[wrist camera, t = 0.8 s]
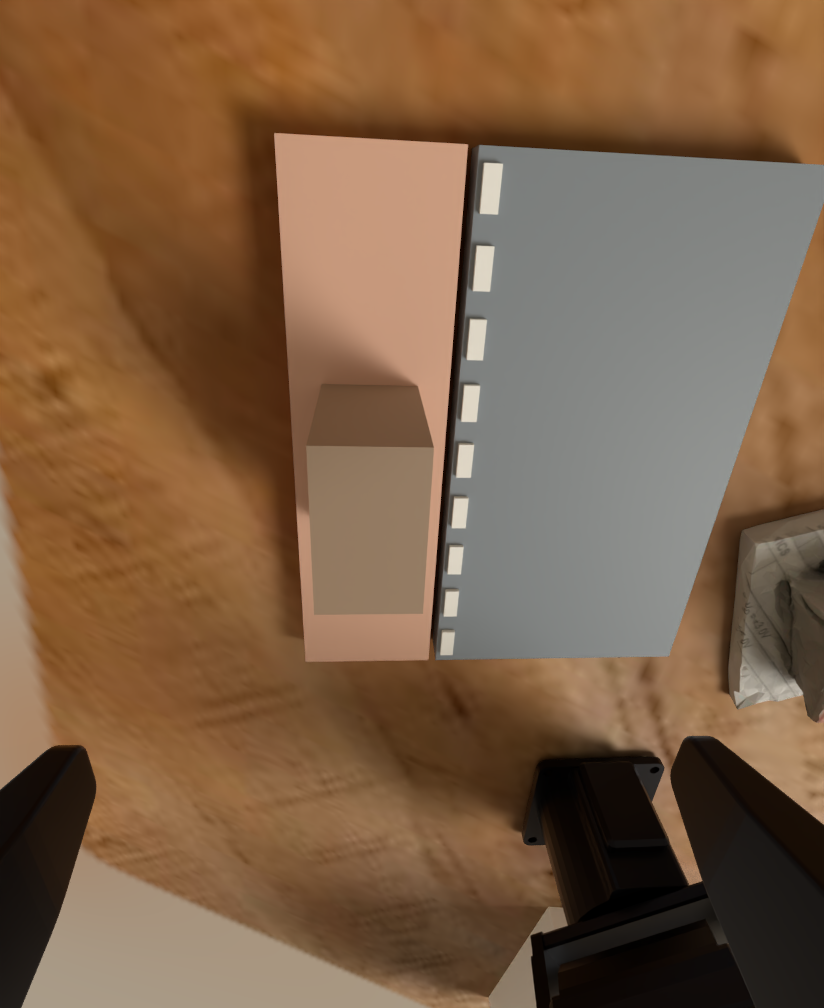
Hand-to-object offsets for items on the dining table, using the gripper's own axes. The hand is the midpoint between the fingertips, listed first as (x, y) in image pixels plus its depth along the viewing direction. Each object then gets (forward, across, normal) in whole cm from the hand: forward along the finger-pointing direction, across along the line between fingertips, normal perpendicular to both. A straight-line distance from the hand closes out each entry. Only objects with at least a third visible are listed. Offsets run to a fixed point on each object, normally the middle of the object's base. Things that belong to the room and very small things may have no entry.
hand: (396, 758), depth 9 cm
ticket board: (+13, -7, 0) cm, 15 cm away
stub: (+13, 0, 0) cm, 13 cm away
